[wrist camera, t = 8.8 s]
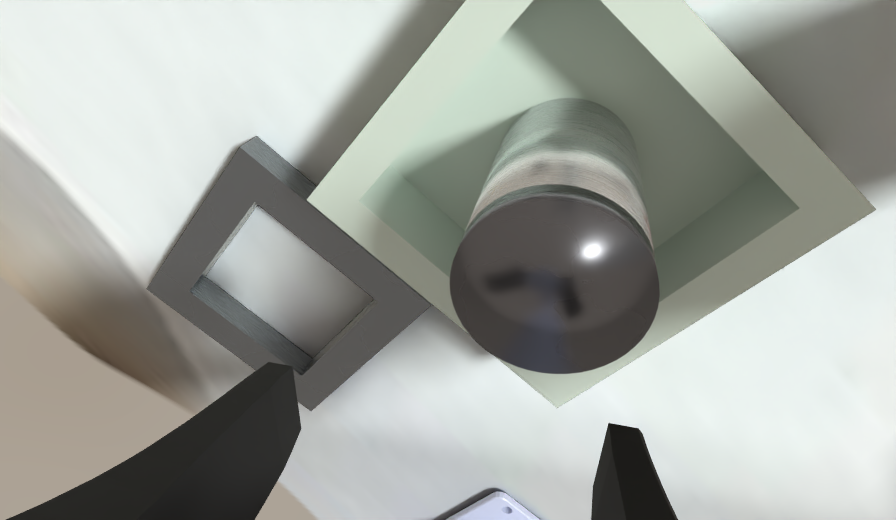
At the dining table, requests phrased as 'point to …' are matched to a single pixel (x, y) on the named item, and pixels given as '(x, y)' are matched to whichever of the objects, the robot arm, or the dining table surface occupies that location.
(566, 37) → the bin
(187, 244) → the grey square frame
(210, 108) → the dining table surface
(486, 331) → the shiny metal cylinder
